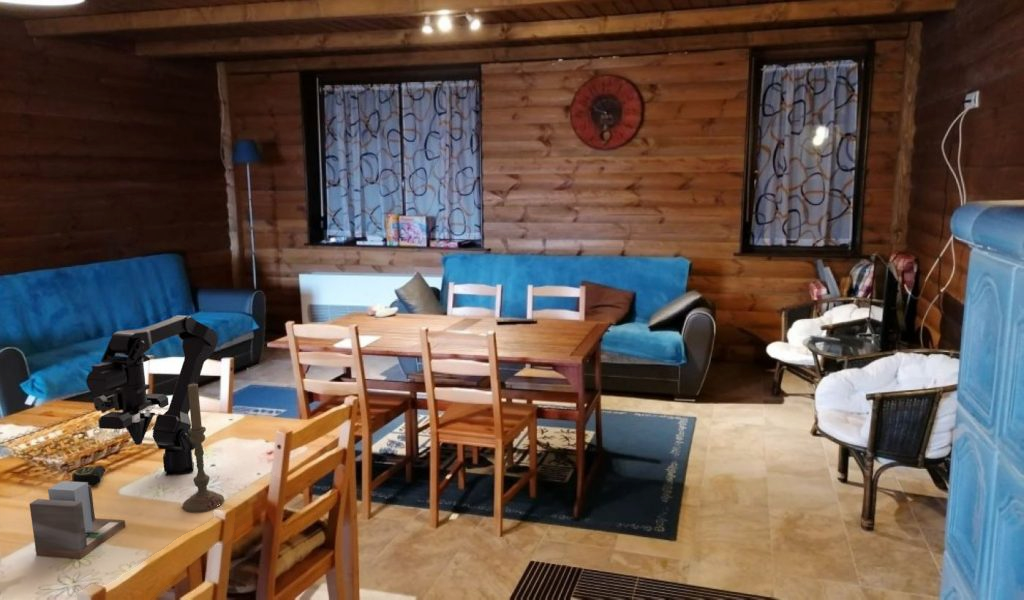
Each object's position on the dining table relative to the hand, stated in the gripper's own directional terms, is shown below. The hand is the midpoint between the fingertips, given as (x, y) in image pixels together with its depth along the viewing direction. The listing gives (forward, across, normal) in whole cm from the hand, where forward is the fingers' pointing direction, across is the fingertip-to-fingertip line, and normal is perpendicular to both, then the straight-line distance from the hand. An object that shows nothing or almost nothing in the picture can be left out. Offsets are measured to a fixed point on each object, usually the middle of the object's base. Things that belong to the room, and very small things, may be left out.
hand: (138, 444), depth 180 cm
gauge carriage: (+10, +26, +3) cm, 28 cm away
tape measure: (+12, -3, -16) cm, 21 cm away
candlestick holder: (+12, +5, +19) cm, 23 cm away
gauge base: (+12, +25, +3) cm, 28 cm away
